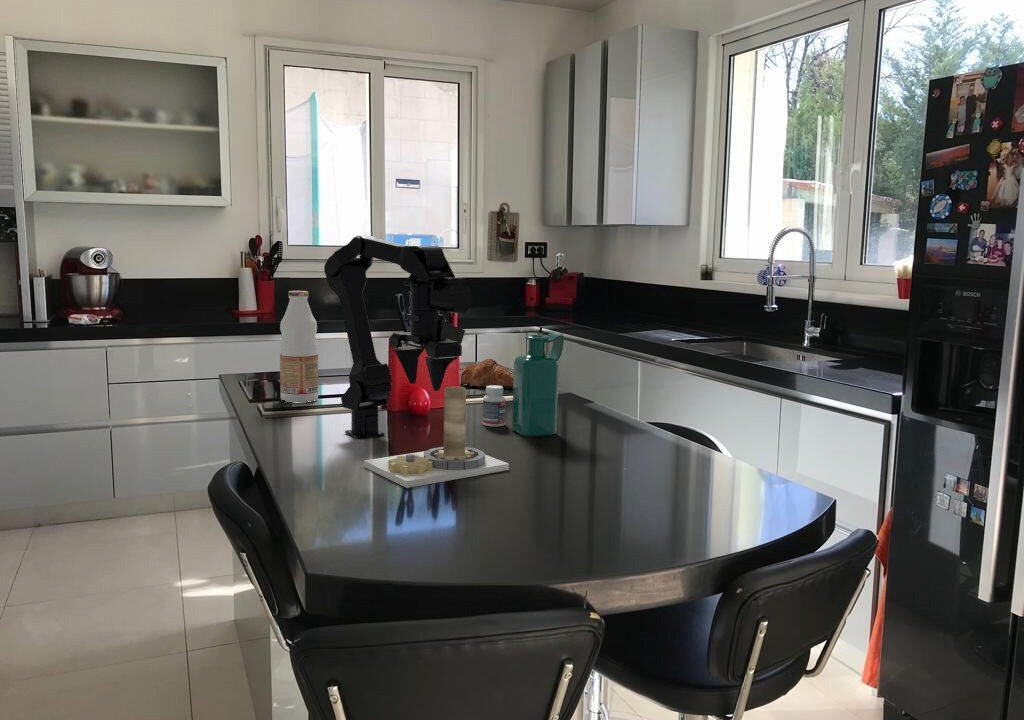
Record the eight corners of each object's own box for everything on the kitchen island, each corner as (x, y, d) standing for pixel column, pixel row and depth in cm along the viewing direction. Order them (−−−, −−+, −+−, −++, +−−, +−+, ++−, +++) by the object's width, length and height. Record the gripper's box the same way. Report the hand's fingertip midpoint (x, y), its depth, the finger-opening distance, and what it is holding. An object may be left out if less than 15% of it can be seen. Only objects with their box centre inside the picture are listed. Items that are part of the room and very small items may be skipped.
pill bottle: (502, 427, 200) (503, 389, 198) (480, 426, 201) (480, 388, 200) (507, 422, 205) (508, 385, 204) (485, 421, 206) (486, 384, 205)
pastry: (465, 391, 244) (466, 363, 243) (450, 382, 258) (450, 355, 257) (522, 389, 250) (523, 361, 249) (504, 380, 264) (504, 354, 263)
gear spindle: (432, 456, 168) (433, 385, 166) (471, 456, 169) (472, 384, 167) (435, 467, 161) (436, 392, 159) (476, 466, 162) (477, 392, 160)
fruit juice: (280, 404, 219) (278, 292, 215) (280, 397, 228) (279, 289, 224) (318, 403, 222) (318, 292, 217) (317, 396, 231) (316, 290, 226)
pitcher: (523, 437, 191) (526, 337, 188) (509, 429, 199) (511, 332, 195) (564, 434, 194) (567, 336, 191) (549, 426, 202) (552, 331, 199)
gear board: (363, 466, 165) (363, 447, 164) (461, 451, 178) (462, 433, 177) (406, 487, 152) (406, 467, 151) (508, 469, 165) (509, 450, 164)
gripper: (485, 312, 171) (483, 390, 173) (435, 304, 186) (434, 376, 188) (436, 314, 165) (435, 396, 167) (388, 306, 179) (388, 381, 182)
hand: (424, 387), depth 176 cm, fingers open, 9 cm apart
